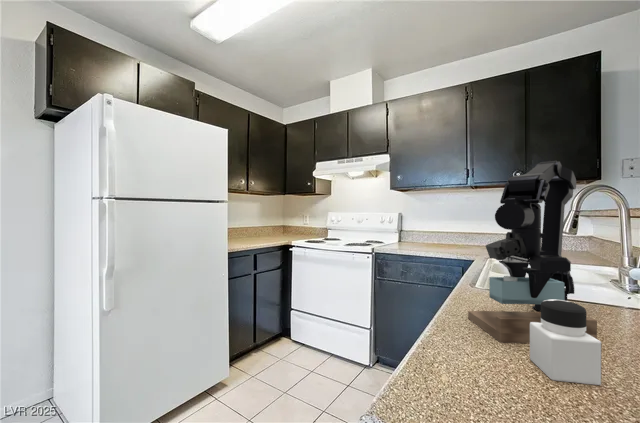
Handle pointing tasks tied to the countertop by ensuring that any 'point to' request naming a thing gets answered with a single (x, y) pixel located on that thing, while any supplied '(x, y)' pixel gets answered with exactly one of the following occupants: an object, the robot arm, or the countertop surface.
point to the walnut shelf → (514, 324)
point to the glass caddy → (522, 290)
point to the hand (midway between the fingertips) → (525, 294)
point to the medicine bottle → (565, 344)
